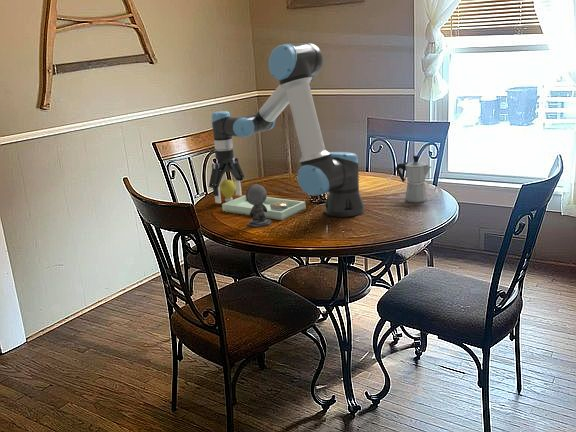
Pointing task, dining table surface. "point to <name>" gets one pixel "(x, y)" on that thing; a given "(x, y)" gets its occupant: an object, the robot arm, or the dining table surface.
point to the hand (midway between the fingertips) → (228, 198)
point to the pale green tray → (245, 207)
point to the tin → (279, 206)
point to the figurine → (257, 206)
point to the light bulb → (227, 189)
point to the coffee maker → (414, 180)
